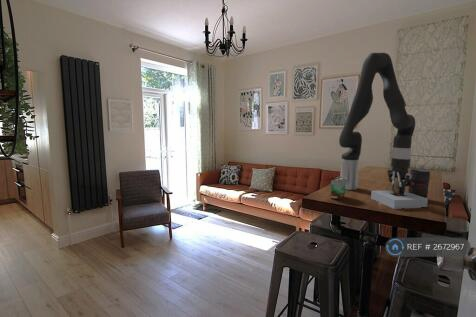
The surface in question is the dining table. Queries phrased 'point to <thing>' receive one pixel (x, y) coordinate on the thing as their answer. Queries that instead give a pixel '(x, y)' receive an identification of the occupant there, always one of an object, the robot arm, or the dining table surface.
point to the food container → (338, 188)
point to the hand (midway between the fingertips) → (398, 193)
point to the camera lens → (419, 182)
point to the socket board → (399, 199)
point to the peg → (396, 187)
